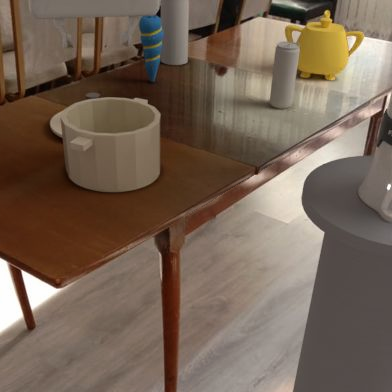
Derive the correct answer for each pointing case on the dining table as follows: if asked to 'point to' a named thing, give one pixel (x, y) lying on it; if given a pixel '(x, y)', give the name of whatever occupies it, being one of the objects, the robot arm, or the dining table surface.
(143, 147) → the pot
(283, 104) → the beverage can
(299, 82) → the dining table surface
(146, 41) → the ornament
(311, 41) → the yellow sugar bowl
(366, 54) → the dining table surface
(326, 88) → the dining table surface
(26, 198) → the dining table surface
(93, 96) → the lid
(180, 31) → the bottle
